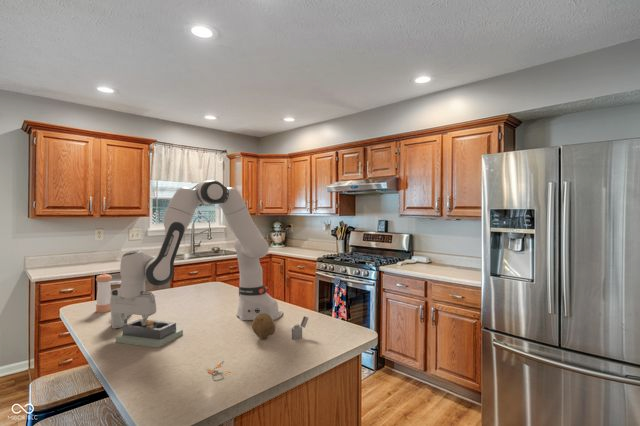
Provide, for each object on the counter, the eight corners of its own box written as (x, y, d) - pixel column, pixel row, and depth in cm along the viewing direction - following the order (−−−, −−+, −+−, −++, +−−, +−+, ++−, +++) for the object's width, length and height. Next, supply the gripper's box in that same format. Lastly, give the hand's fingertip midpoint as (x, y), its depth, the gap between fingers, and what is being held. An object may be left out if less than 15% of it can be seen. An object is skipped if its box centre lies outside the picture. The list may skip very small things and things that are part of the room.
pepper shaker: (107, 312, 173) (106, 274, 173) (92, 312, 173) (92, 274, 173) (115, 308, 181) (115, 271, 180) (102, 308, 181) (101, 271, 180)
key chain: (234, 377, 107) (234, 374, 107) (210, 383, 104) (210, 380, 104) (225, 361, 118) (225, 359, 118) (203, 366, 115) (203, 363, 115)
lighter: (293, 339, 137) (293, 319, 137) (291, 338, 138) (291, 318, 138) (308, 335, 141) (308, 316, 140) (306, 334, 142) (306, 315, 142)
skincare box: (127, 326, 153) (127, 293, 152) (111, 329, 149) (111, 295, 149) (126, 321, 160) (125, 289, 159) (110, 324, 156) (110, 291, 156)
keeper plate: (182, 334, 143) (182, 317, 143) (158, 347, 130) (158, 329, 129) (143, 329, 148) (142, 313, 148) (115, 342, 135) (115, 324, 135)
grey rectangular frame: (176, 331, 141) (176, 322, 141) (160, 339, 132) (160, 330, 132) (140, 327, 146) (140, 319, 146) (122, 335, 137) (122, 326, 137)
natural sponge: (249, 336, 141) (249, 311, 141) (270, 332, 144) (270, 309, 144) (254, 344, 133) (254, 318, 132) (277, 340, 136) (276, 315, 136)
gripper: (159, 290, 141) (160, 324, 141) (119, 287, 147) (120, 319, 147) (148, 294, 135) (148, 329, 135) (106, 291, 141) (107, 324, 141)
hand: (133, 324), depth 141 cm, fingers open, 8 cm apart
